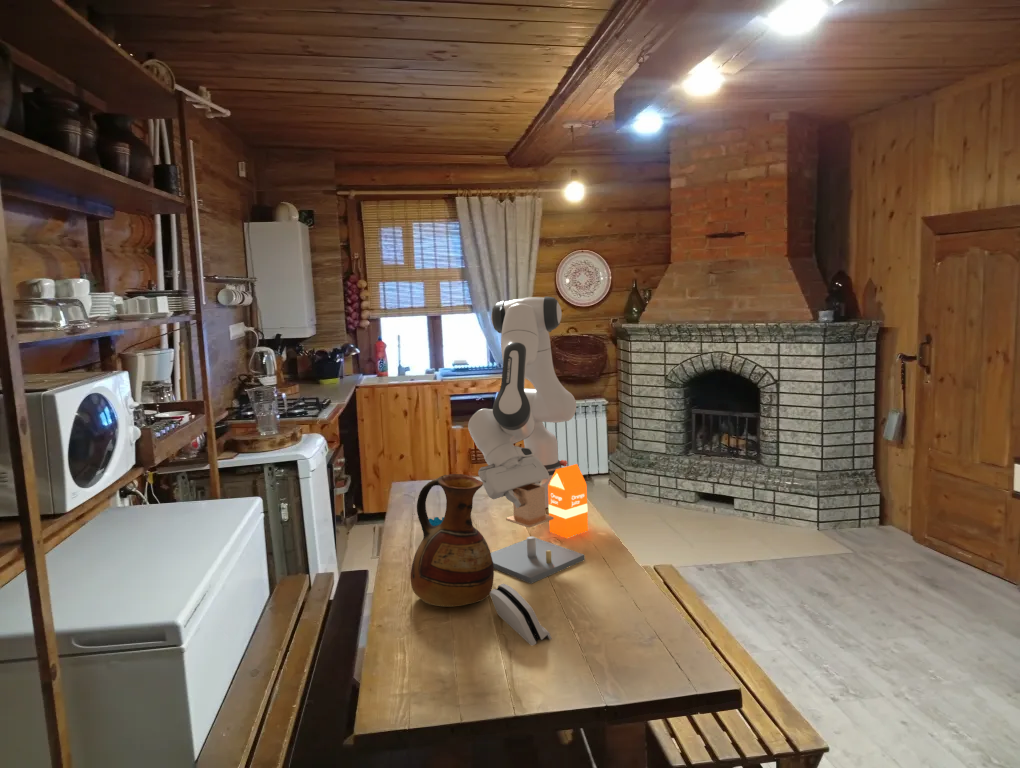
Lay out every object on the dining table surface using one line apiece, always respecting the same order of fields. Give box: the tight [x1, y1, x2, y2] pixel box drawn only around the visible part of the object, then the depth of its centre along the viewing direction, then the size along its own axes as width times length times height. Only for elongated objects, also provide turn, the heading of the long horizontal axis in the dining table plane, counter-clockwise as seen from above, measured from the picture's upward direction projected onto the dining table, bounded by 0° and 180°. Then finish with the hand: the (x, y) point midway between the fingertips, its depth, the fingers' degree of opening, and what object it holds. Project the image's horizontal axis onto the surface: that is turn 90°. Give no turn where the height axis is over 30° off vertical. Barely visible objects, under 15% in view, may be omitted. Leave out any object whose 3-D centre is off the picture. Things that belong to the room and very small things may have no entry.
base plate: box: [490, 536, 586, 584], centre depth 187 cm, size 20×20×6 cm
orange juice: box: [548, 463, 589, 539], centre depth 207 cm, size 8×9×20 cm
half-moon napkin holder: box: [489, 583, 552, 646], centre depth 151 cm, size 17×5×10 cm, turn 26°
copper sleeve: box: [505, 483, 554, 529], centre depth 185 cm, size 9×9×9 cm
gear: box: [428, 516, 444, 526], centre depth 207 cm, size 11×6×10 cm
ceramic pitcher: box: [410, 473, 495, 607], centre depth 165 cm, size 20×20×30 cm
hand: (530, 502), depth 184 cm, fingers closed on copper sleeve, 6 cm apart
